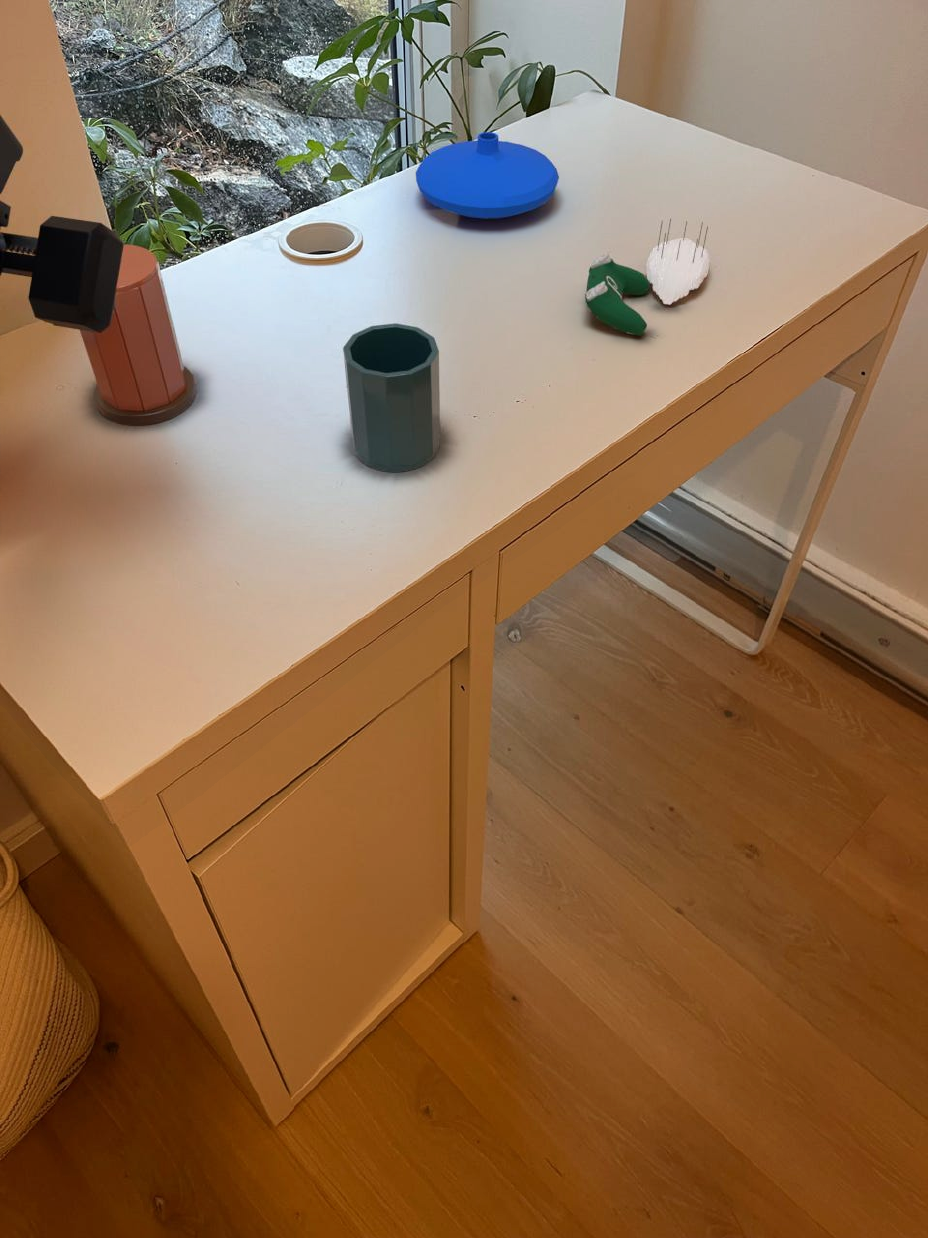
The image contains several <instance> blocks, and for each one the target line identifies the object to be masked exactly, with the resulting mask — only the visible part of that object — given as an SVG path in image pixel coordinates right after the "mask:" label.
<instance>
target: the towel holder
mask: <svg viewBox="0 0 928 1238" xmlns="http://www.w3.org/2000/svg"><path fill="white" fill-rule="evenodd" d="M184 370H185V374H186V389H185V390H184V391H183V392H182V393H181V394H180V395H179V396H178V397H177V398H176V399H175V400H174V401H172V402H171V403H170V402H169V404H167V405H164V406H160V407H157V408H154V409H150V410H147V411H145V410H144V411H131V410H119V409H116V408H115V407H113V406H112V405H110V404H109V403H107V402H106V401H105V400H103V399H102V397H101V394H100V391H99V388H98V385H97V384H96V385H95V387H94V392H93V397H94V401H95V403H96V407H97V409H98V411H99V413H100V414H101V415H102V416H104V418H106V419H107V420H109V421H110V422H113V423H116V424H120V425H126V426H149V425H155V424H159V423H162V422H165V421H169V420H170V419H173V418H175V417H177V416H178V415H180V414H182V413H183V412H185V411H186V410H187V409H188V408H189V407H190V406H191V405H192V403H194V400H195V399H196V395H197V385H196V381H195V377H194V374H193V373H192V372H191V371H190V369H189V368H188V367H186V366H184Z"/></svg>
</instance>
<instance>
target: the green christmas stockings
mask: <svg viewBox="0 0 928 1238" xmlns="http://www.w3.org/2000/svg"><path fill="white" fill-rule="evenodd" d="M650 285H651V283H650V282H649V281H648V279H647V276H646V275H645V274H644V273H643V272H641V271H639V270H636V269H634V268H631V267H630V266H629V267H628V266H625V265H622V264H618V263H616V262H615V261H614V259H612V258H611V256H610V253H609V252H605V253H604V254H602V255H600V256H599V257H597V258H595V259H594V261H593V262H592V263H591V265H590V267H589V270H588V277H587V282H586V293H585V294H584V297H585V298H584V301H585V303H586V305H587V307H588V309H589V310H590V313H591V314H592V315H593V317H594V318H597V319H598V320H599V321H601V322H602V323H604V324H606V325H607V326H609V327H611V328H613V329H614V330H618V331H620V332H622V333H625V334H629V335H633V336H638V337H639V336H640V337H641V336H642V335H643V334H644V332H645V330H646V329H647V328H648V324H647V322H646V321H645V319H644V318H643V317H642V316H641V314H640V313H639V312H638V311H636V309H633V308H632V307H630V306H629V305H627V304H626V303H625V302H623V294H624V295H625V294H626V295H631V296H642V295H645V294H646V293H647V292H648V291H649V289H650Z"/></svg>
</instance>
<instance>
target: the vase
mask: <svg viewBox="0 0 928 1238" xmlns="http://www.w3.org/2000/svg"><path fill="white" fill-rule="evenodd" d="M559 180H560V175H559V172H558V169H557V168H556V166H555V165H554V163H553V162H552V161H551V160H550V159H549V158H548V156H547V155H546V154H543V153H542V152H540V151H538V150H537V149H534V148H532V147H529V146H527V145H523V144H520V143H515V142H511V141H504V140H503V141H502V140H499V135H498V134H497V133H495V132H491V131H484V132H480V133H478V135H477V140H469V141H462V142H454V143H452V144H449V145H446V146H443V147H439V148H438V149H436V150H434V151H432V152H430V153H429V154H428V155H427V156H426V157H424V158H423V160H422V161H421V162H420V164H419V165H418V167H417V169H416V171H415V182H416V184H417V187H418V190H419V192H420V193H421V195H422V196H423V197H424V199H425V200H426V201H428V202H429V203H431V204H432V205H433V206H435V207H438V208H440V209H442V210H444V211H448V212H450V213H452V214H455V215H459V216H463V217H467V218H473V219H483V220H489V219H490V220H492V219H502V218H510V217H513V216H516V215H520V214H523V213H526V212H529V211H532V210H536V209H537V208H539V207H541V206H543V205H544V204H546V203H547V202H548V201H549V200H550V199H551V198H552V197H553V196H554V193H555V191H556V188H557V186H558V182H559Z"/></svg>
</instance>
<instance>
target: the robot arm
mask: <svg viewBox="0 0 928 1238" xmlns="http://www.w3.org/2000/svg"><path fill="white" fill-rule="evenodd" d="M23 147H24V146H23V145H22V143H21V142H20V141H19V139H18V138H17V136H16V135H15V133H14V132H13V131H12V129H11V128H10V126H9V125H8V123H7V122H6V121H5V119H4V117H2V115H1V114H0V195H1V194H2V193H3V191H4V189H5V187H6V185H7V183H8V180H9V179H10V176H11V174H12V173H13V170H14V167H15V166H16V163H17V162H20V161H21V159H22V157H23V154H24V148H23ZM11 209H12V207H11V205H9V204H7V203H5V202H4V201H2V200H0V230H2V229H1V227H2V228H8V227H9V223H10V215H11ZM123 247H124V242H123V240H122V239H121V237H120V236H119V234H118V233H117V232H115V231H113V230H112V229H111V228H109V227H108V226H106V225H105V224H104V223H102V222H99V221H98V222H97V221H90V220H83V219H78V218H71V217H63V216H57V215H51V216H49V217H48V218H47V219H46V220H45V221H43V222H42V223H41V224H40V225H39V229H38V236H37V237H35V236H30V235H29V236H28V235H22V234H14V233H8V232H3V231H0V277H1V276H2V274H8V275H15V276H22V277H27V278H31V279H30V285H29V291H28V296H27V299H28V302H29V304H30V307H31V310H32V313H33V316H34V318H36V319H38V320H40V321H43V322H44V323H48V324H52V326H55V327H61V328H66V329H67V328H68V329H72V330H78V331H80V330H84V331H90V332H96V333H102V332H103V331H104V330H105V329H107V328H108V327H109V326H110V323H111V317H112V315H113V313H114V307H115V294H116V288H117V282H118V276H119V270H120V264H121V258H122V253H123Z"/></svg>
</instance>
